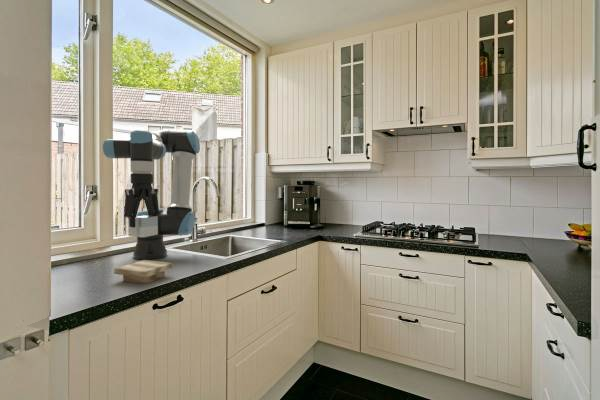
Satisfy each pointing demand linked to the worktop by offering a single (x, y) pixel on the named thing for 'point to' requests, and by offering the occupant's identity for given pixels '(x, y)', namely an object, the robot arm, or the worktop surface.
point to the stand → (143, 271)
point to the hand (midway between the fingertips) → (142, 234)
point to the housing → (145, 226)
